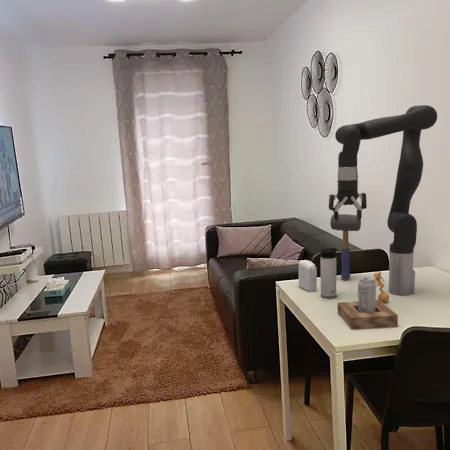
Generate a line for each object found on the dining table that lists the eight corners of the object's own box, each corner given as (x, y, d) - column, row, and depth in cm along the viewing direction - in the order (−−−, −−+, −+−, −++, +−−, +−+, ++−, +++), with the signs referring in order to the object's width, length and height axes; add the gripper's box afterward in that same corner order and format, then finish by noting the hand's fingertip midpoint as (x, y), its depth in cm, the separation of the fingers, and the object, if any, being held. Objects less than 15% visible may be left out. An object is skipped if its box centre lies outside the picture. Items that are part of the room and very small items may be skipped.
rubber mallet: (329, 280, 224) (329, 215, 218) (334, 276, 230) (334, 212, 225) (357, 283, 217) (357, 216, 212) (361, 278, 224) (362, 213, 219)
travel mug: (337, 299, 198) (337, 250, 194) (320, 298, 199) (320, 250, 196) (337, 294, 204) (337, 247, 200) (320, 293, 205) (320, 246, 202)
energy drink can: (378, 321, 173) (379, 280, 170) (362, 323, 172) (363, 281, 169) (370, 315, 179) (370, 275, 176) (354, 317, 178) (355, 277, 175)
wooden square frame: (379, 310, 184) (380, 299, 183) (397, 326, 168) (397, 315, 167) (337, 312, 183) (337, 302, 182) (351, 329, 167) (351, 318, 166)
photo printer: (318, 291, 209) (318, 262, 207) (309, 292, 207) (309, 264, 205) (305, 284, 218) (305, 257, 216) (297, 286, 217) (296, 258, 215)
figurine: (386, 306, 188) (386, 275, 186) (370, 303, 191) (370, 273, 189) (391, 299, 195) (392, 270, 192) (376, 297, 198) (377, 268, 196)
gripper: (362, 177, 193) (362, 217, 195) (326, 178, 192) (326, 219, 195) (369, 178, 185) (368, 221, 188) (332, 180, 184) (332, 222, 187)
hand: (347, 220), depth 191 cm, fingers open, 8 cm apart
